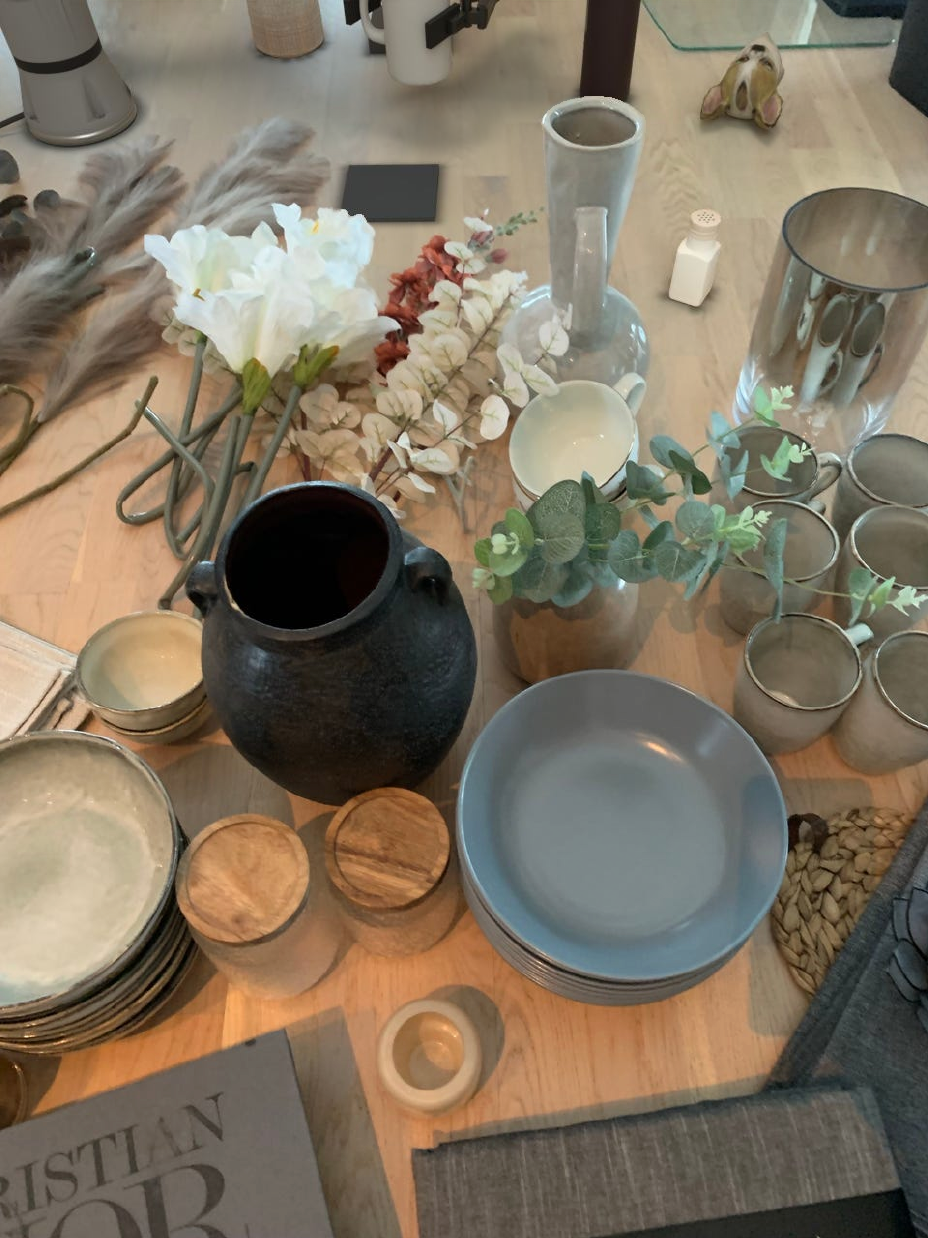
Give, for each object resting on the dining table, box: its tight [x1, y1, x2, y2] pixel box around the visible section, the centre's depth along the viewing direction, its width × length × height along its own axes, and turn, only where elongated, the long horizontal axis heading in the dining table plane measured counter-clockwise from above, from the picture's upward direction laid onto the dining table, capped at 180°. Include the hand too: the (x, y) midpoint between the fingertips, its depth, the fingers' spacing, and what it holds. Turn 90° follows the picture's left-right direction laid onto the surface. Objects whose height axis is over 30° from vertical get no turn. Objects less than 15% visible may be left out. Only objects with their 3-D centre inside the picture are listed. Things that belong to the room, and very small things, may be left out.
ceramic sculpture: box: [699, 31, 785, 131], centre depth 117 cm, size 11×9×15 cm
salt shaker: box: [668, 208, 722, 307], centre depth 95 cm, size 4×4×10 cm
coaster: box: [340, 163, 440, 222], centre depth 111 cm, size 12×12×1 cm
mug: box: [359, 0, 453, 87], centre depth 109 cm, size 12×8×11 cm
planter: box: [245, 0, 325, 59], centre depth 131 cm, size 11×11×10 cm
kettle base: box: [367, 4, 386, 55], centre depth 133 cm, size 12×10×4 cm
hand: (386, 24), depth 106 cm, fingers closed on mug, 12 cm apart
